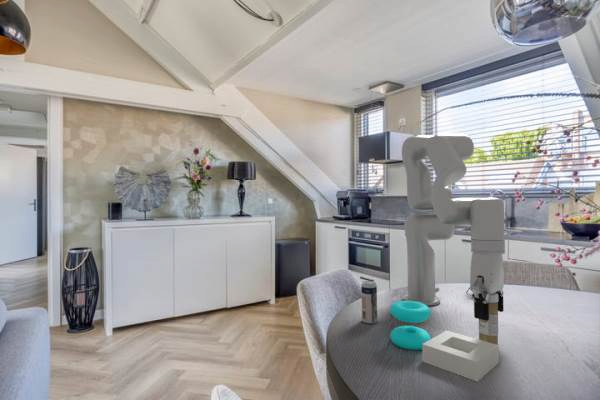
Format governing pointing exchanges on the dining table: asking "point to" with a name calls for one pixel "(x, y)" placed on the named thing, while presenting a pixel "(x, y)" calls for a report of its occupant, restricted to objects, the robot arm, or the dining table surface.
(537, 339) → the dining table surface
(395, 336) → the donuts
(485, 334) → the sprinkles bottle
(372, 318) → the beer can
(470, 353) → the socket block
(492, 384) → the dining table surface
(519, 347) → the dining table surface
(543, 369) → the dining table surface
